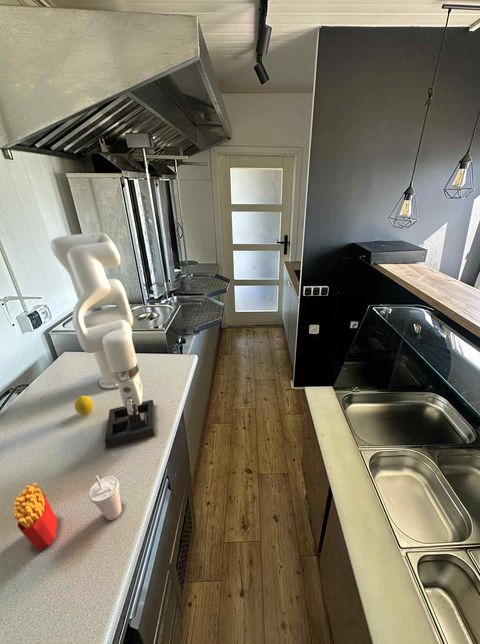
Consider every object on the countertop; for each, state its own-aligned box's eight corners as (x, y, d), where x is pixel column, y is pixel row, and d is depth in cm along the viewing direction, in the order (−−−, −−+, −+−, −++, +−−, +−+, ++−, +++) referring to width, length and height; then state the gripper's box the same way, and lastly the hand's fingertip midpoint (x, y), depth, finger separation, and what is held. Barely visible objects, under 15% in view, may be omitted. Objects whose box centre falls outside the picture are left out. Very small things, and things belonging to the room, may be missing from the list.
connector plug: (136, 427, 98) (132, 414, 95) (148, 424, 99) (145, 411, 96) (135, 436, 94) (131, 423, 92) (148, 433, 95) (145, 419, 93)
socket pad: (112, 416, 102) (109, 409, 101) (154, 406, 107) (152, 399, 105) (106, 448, 90) (104, 440, 89) (154, 436, 94) (152, 428, 93)
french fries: (53, 548, 66) (32, 514, 60) (31, 557, 64) (7, 524, 59) (59, 510, 73) (41, 477, 68) (40, 518, 72) (19, 485, 66)
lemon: (88, 420, 101) (81, 403, 98) (75, 418, 102) (67, 401, 99) (99, 409, 106) (93, 392, 102) (86, 407, 107) (80, 390, 103)
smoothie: (107, 499, 76) (93, 463, 70) (131, 499, 76) (119, 464, 69) (94, 525, 70) (77, 489, 64) (119, 526, 70) (105, 490, 64)
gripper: (137, 384, 80) (148, 428, 87) (139, 352, 94) (149, 392, 102) (107, 391, 77) (122, 435, 85) (114, 356, 92) (126, 397, 100)
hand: (136, 411), depth 94 cm, fingers open, 9 cm apart
